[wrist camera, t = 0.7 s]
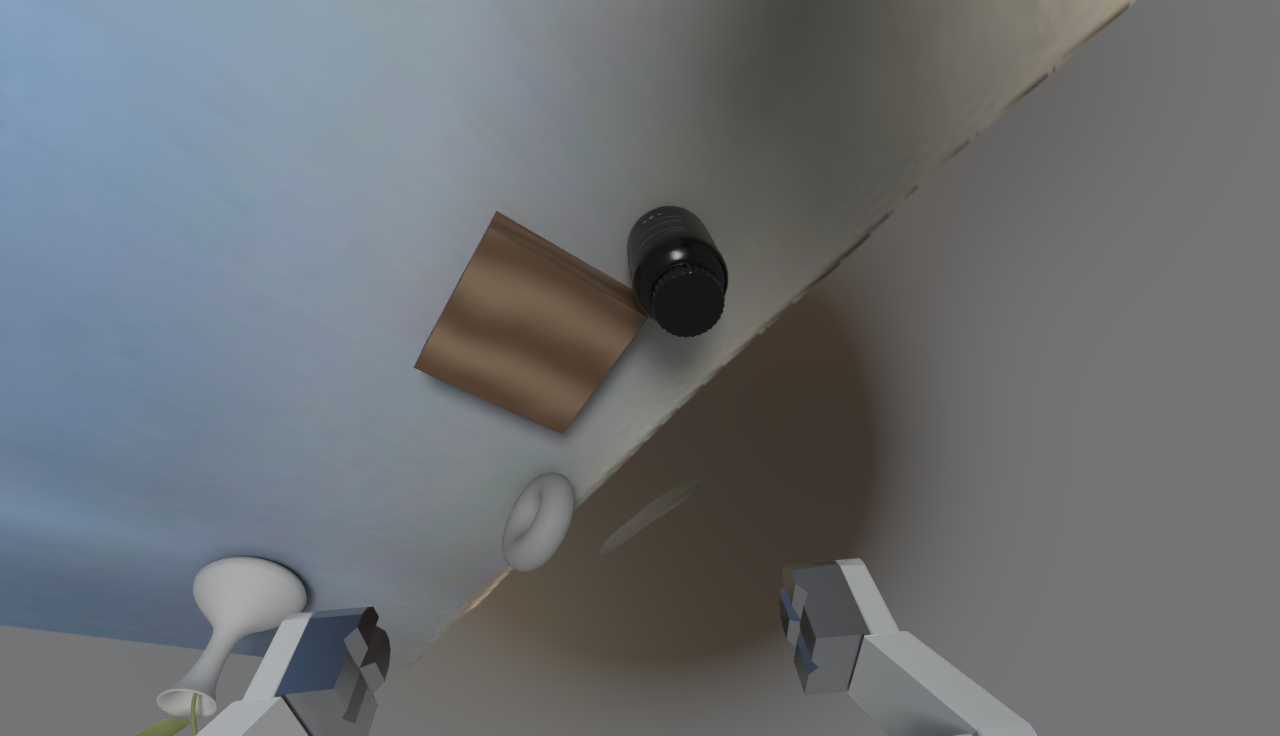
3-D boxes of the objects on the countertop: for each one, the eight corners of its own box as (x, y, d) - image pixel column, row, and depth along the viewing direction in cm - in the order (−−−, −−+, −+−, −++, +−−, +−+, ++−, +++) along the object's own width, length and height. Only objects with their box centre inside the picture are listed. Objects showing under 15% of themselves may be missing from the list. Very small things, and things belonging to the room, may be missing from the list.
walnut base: (496, 211, 44) (489, 227, 41) (643, 296, 49) (647, 317, 46) (425, 343, 50) (413, 367, 47) (563, 408, 55) (562, 434, 52)
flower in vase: (179, 573, 63) (-26, 855, 42) (252, 531, 61) (73, 809, 39) (276, 628, 69) (140, 898, 48) (345, 593, 67) (234, 861, 46)
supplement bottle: (721, 258, 48) (756, 324, 38) (650, 295, 49) (666, 368, 39) (686, 186, 45) (715, 238, 34) (610, 228, 46) (617, 290, 36)
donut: (528, 518, 63) (519, 597, 54) (501, 505, 61) (488, 584, 53) (582, 463, 59) (581, 538, 51) (555, 448, 58) (549, 523, 49)
